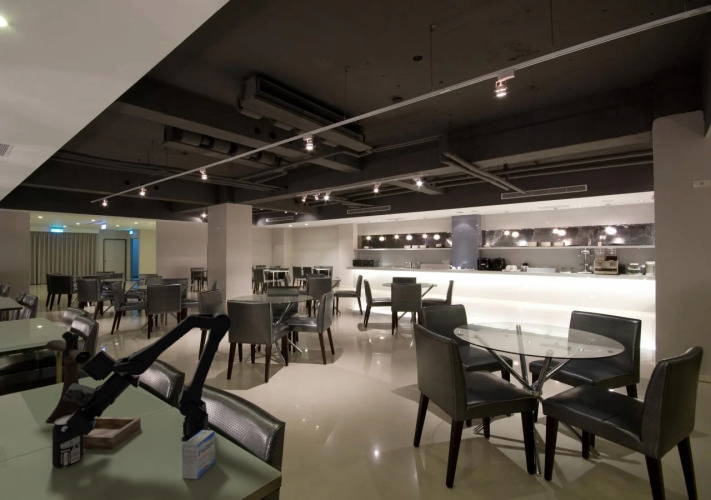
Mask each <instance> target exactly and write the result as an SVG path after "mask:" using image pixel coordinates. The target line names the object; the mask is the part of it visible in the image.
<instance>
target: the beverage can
mask: <svg viewBox="0 0 711 500" xmlns="http://www.w3.org/2000/svg"><path fill="white" fill-rule="evenodd" d="M70 416H71V415H67V416H64V417H61V418H59V419H57V420H56V421H55V422H54V425H53V426H52V439H51V440H52V442H51V443H52V446H51V447H52V452H51V453H52V455H51V457H52V458H51V459H52V461H51V462H52V467H54V468H56V469H66V468H69V467H72V466H75V465H76V464H78V463H80V461H81V459H83V457H84V449H83V434H82V435H80V436H78V437H76V438H74V439H71V440H69V441H67V442H65V443H63V444H61V445H57V444H56V442H57V441H58V439H59V438H60V437H61V435H62V434H63V433H64V431H65V430H66V429H67V427H68V424H67V423H66V421H67V420H68V419H69V417H70Z"/></svg>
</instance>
